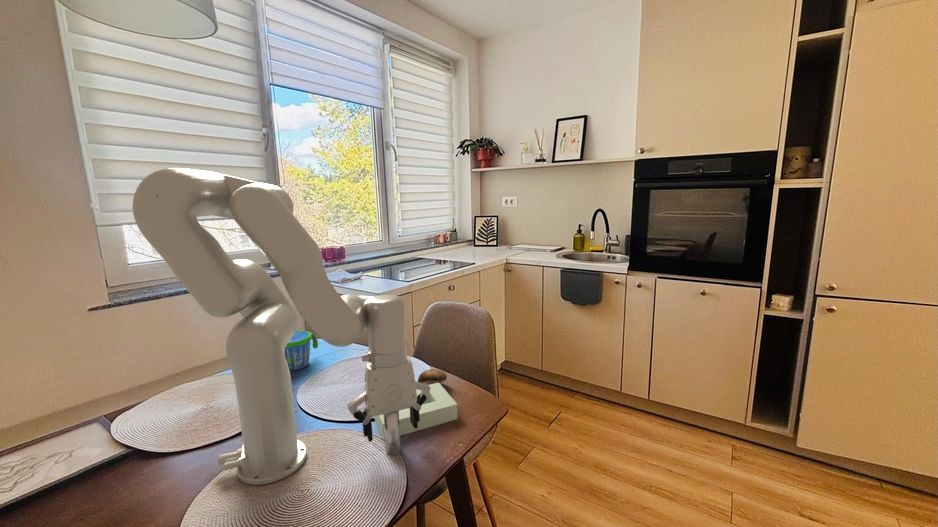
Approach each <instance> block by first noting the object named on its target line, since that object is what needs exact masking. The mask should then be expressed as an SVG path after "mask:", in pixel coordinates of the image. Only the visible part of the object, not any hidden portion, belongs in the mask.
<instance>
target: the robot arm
mask: <svg viewBox="0 0 938 527" xmlns="http://www.w3.org/2000/svg"><path fill="white" fill-rule="evenodd" d="M132 198H133V199H132V213H133V219H134V221H135V224H136V226H137V228H138V230H139V232H140V233H141V234H142V235H143V237H144V238H145V239H146V241H147V242H148V243H149V244H150V245H151V247H152V248H153V249H154V250H155V251H156V252H157V253H158V255H159V256H160V257H161V258H162V259H163V261H164V262H165V263H166V265H167V266H168V267H169V268H170V270H172V272H173V274H174V275H175V276H176V277H177V279H178V280H179V282H180V283H181V284H182V285H183V286H184V287H185V289H186V291H187V292H188V293H189V294H190V295H191V297H192V298H193V299H194V300H195V302H196V303H197V305H198V306H199V307H200V309H201V310H203V311H204V312H205V313H206V314H208V315H209V316H211V317H214V318H217V319H224V318H229V317H232V316H234V315H237V314H238V313H239V314H240V315H241V317H243V318H242V319H240V320H239V321H238V322H237V323H236V324H235V325H234V326H233V327H232V328H231V330H230V332H229V333H228V335H227V338H226V340H225V353H226V358H227V361H228V363H229V367H230V370H231V372H232V376H233V381H234V385H235V386H234V387H235V391H236V392H235V393H236V401H237V405H238V414H239V421H240V429H241V437H242V447H241V448H238V449H237V450H236V451H233V452H227V453H226V452H225V453H224V454H219V455H218V466H223V468H224V471H228V470H233V469H235V468H236V472H237V474H236V475H237V476H238V479H239V480H240V481H241V482H242V483H245V484H247V485H253V486H254V485H255V486H256V485H257V486H259V485H260V486H261V485H267V484H272V483H275V482H278V481H280V480H282V479H284V478H287V477H288V476H290V475H292V474H293V473H295V472H296V471H297V470H298V469H299V468H301V466H302V465H303V464H304V462H305V460H306V458H307V455H308V454H307V446H306V445H305V444H304V443H303V441H301V440H299V439H298V435H297V426H296V416H295V406H294V396H293V387H292V379H291V378H292V377H291V372H290V371H291V370H289V367H288V364H287V361H286V358H285V347H286V345H287V344H288V342H289V341H290V340H291V339H292V337H293V336H294V334H295V333H296V331H298V327H299V317H298V314H299V315H300V316H301V317H302V318H303V320H304V321H305V322H306V323H307V324H308V326H309V327H310V328H311V329H312V330H313V332H315V335H316V336H318V337H319V338H320V339H321V340H322V341H324V342H325V343H327V344H329V345H330V346H333V347H336V348H337V347H338V348H345V347H348V346H351V345H352V344H354V343H355V342H356V341H358V340H359V338H360V337H361V334H362V333H363V330H366V331H367V342H368V348H367V351H366V353H365V354H362V355H361V360H362V362H363V363H364V362H366V366H365V373H364V392H362V393H360V394H358V396H356V397H355V398H354V399H352V400H351V401H350V402H348V403H347V404H346V406H347V409H348V411H349V413H350V414H351V416H353V418H354V419H355V420H357V421H358V422H361V423H362V432H363V436H364V438H365V437H366V438H367V439H368V443H369V442H370V443H371V442H372V441H374V440H373V427H372V426H373V425H372V422H371V420H372V419H373V418H374V416H379V415H383V414H387V413H391V412H395V411H399V410H402V409H406V408H409V407H410V422H411V424H412V425H413V427H414V428H415V429H416V428H418V422H419V421H420V419H419V410H420V409H421V406H422V404H423V403H424V402H425V401H426V399H427V396H428V393H429V391H430V387H429V385H428V384H424V383H420V382H418V380H417V381H416V378H415V372H414V371H415V370H414V365H413V363H412V359H411V358H410V357H409V356H408V353H407V352H408V350H407V348H408V347H407V332H406V330H407V329H406V326H407V325H406V308H405V307H406V305H405V301H404V299H403V298H402V297H401V296H399V295H396V294H380V295H376V296H373V295H372V296H371V295H363V294H354V293H353V294H352V293H351V294H343V295H340V293H338V292H337V289H336V288H335V287H334V286H333V284H332V282H331V281H330V279H329V277H328V275H327V272H326V270H325V267H324V262H323V257H322V253H321V252H322V251H321V249H320V247H319V245H318V244H317V242H316V241H315V240H314V239H313V237H312V236H311V235H310V233H308V231H307V230H306V228H304V226H303V225H302V224H301V223H300V220H298V219H297V217H295V215H294V204H293V203H294V202H293V200H292V198H291V196H290V195H289V193H288V192H286V190H284V189H283V188H282V187H279V185H274V184H270V183H264V182H258V181H254V180H249V179H246V178H241V177H237V176H232V175H228V174H223V173H218V172H214V171H209V170H201V169H193V168H192V169H191V168H181V167H169V168H162V169H159V170H156V171H153V172H151V173H150V174H148V175H146V176H145V177H144V179H142V180H141V181H140V183H139V184H138V186H137V187H136V190H135V192H134V195H133V197H132ZM207 216H215V217H221V218H225V219H231V220H234V222H235V223H236V224H237V225H238V227H239V228H240V229H241V230H242V231H243V232H244V234H245V235H246V236H247V237H248V238H249V239H250V240H251V242H253V244H254V245H255V246H256V247H257V248H258V250H259V251H260V252H261V253H262V255H263V256H265V258H266V259H267V260H268V262H269V263H270V264H271V265H272V266H273V268H274V269H275V270H276V271H277V273H278V274H279V276H280V278H281V281H282V284H283V286H284V288H285V290H286V292H287V294H288V296H289V298H290V300H291V302H292V304H293V305H292V304H291V303H290V301H289V300H288V299H287V297H286V296H285V295H284V293H283V292H282V290H281V289H280V288H279V286H278V285H277V283H276V282H275V281H274V279H273V278H272V277H271V275H270V274H269V273H268V272H267V270H266V269H265V268H264V267H263V266H261V265H260V264H258V263H257V262H255V261H252V260H250V259H246V258H243V259H242V258H239V259H238V258H237V259H232V258H231V257H230V256H229V255H228V253H227V252H226V251H225V250H224V249H223V247H222V245H221V244H220V242H219V241H218V240H217V238H215V236H213V234H211V233H210V232H209V230H207V229H205V228H204V227H203V226H202V225H201V224H200V222H199V221H198V219H197V218H199V217H200V218H201V217H207ZM293 306H294V307H293ZM295 309H296V311H297V312H298V314H297V312H296V311H295ZM416 389H418V390H422V391H421V393H420V394H419V395H418V397H417V392H416ZM363 403H364V404H365V408H364V409H363V410H362V411H361V410H360V409H358V407H359V406H361V405H362V404H363Z"/></svg>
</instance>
